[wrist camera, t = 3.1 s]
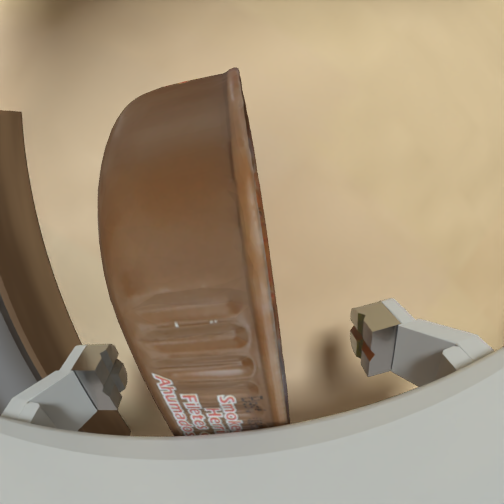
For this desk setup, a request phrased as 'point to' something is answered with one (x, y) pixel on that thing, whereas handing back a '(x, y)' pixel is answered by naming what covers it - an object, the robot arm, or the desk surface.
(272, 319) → the tin
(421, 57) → the desk surface
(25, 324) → the plinth
